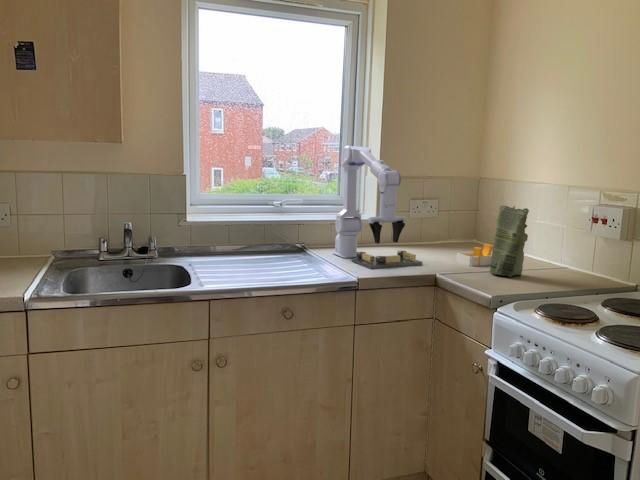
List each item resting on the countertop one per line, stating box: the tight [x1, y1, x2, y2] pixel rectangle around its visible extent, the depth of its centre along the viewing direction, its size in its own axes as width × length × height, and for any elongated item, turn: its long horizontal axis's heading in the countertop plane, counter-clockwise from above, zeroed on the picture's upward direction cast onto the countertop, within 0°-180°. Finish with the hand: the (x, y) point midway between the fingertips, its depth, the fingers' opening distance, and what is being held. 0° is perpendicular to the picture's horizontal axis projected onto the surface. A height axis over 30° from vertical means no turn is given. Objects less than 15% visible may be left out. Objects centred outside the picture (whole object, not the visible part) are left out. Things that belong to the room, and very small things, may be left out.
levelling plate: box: [351, 256, 423, 270], centre depth 218 cm, size 14×23×2 cm, turn 116°
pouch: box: [489, 205, 530, 278], centre depth 202 cm, size 11×12×25 cm
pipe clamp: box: [473, 243, 493, 266], centre depth 225 cm, size 12×4×6 cm, turn 143°
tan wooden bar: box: [355, 251, 375, 262], centre depth 216 cm, size 10×4×2 cm, turn 26°
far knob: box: [396, 250, 417, 261], centre depth 221 cm, size 10×4×2 cm, turn 26°
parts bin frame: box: [455, 250, 493, 267], centre depth 225 cm, size 9×17×4 cm, turn 116°
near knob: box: [375, 254, 400, 264], centre depth 213 cm, size 10×4×2 cm, turn 116°
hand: (386, 242), depth 204 cm, fingers open, 7 cm apart
